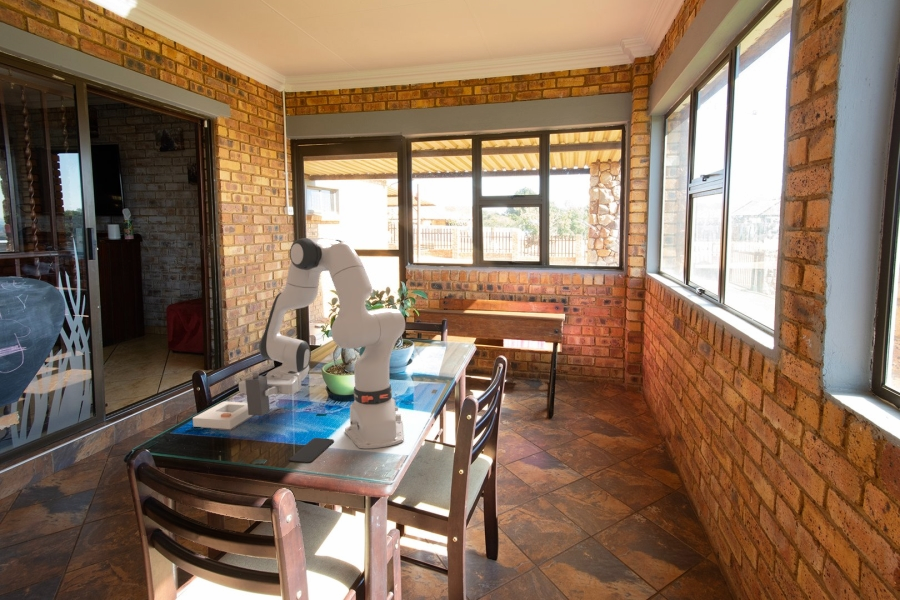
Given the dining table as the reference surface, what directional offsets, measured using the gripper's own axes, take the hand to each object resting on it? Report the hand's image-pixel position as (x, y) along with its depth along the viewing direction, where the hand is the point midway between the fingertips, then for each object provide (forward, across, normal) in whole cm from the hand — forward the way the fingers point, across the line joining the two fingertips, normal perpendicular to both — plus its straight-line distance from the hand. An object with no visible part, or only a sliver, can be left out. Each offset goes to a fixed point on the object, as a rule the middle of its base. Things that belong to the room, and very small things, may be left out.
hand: (255, 393), depth 164 cm
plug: (-1, 0, +7) cm, 7 cm away
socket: (-5, -15, +12) cm, 20 cm away
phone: (+12, +26, +13) cm, 32 cm away
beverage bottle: (-48, +20, +12) cm, 53 cm away
